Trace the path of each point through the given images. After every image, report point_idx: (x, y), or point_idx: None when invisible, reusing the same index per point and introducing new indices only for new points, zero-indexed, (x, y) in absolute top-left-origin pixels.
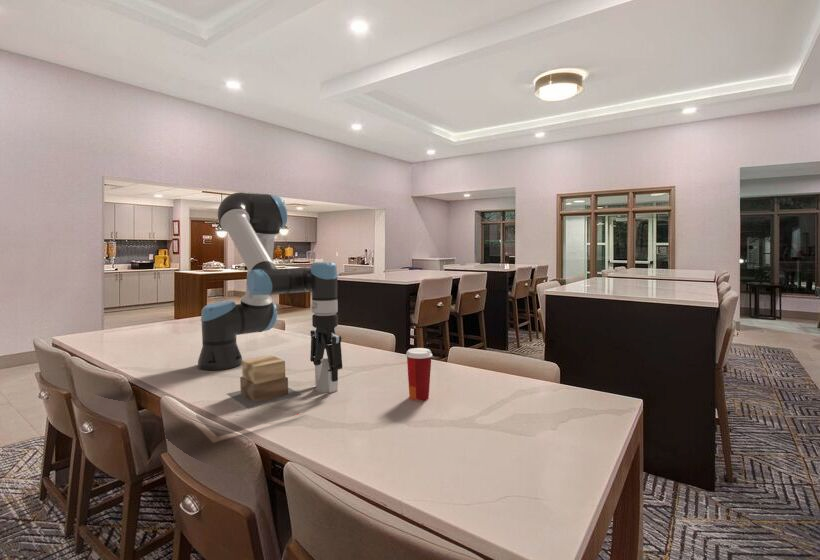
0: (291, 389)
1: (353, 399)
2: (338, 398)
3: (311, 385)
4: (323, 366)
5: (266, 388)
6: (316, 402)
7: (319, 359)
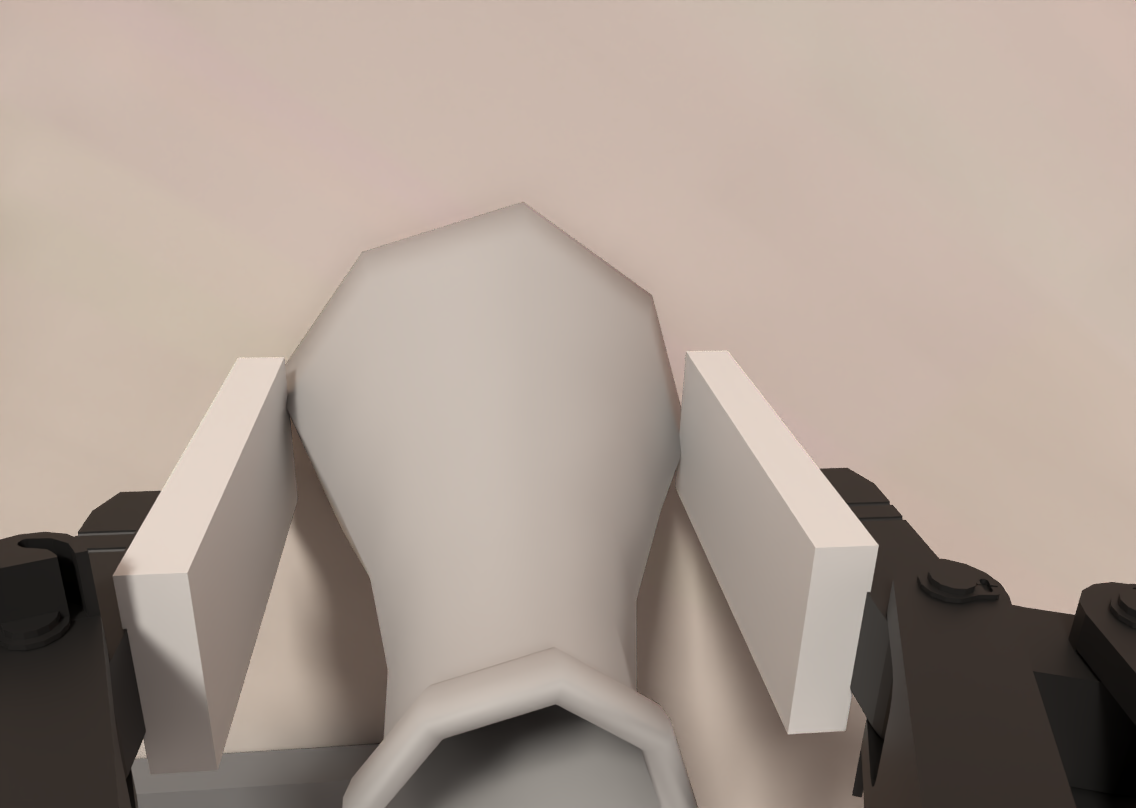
0: (175, 799)
1: (1066, 283)
2: (862, 417)
3: (8, 423)
4: (560, 775)
5: None
6: (755, 680)
7: (129, 798)
